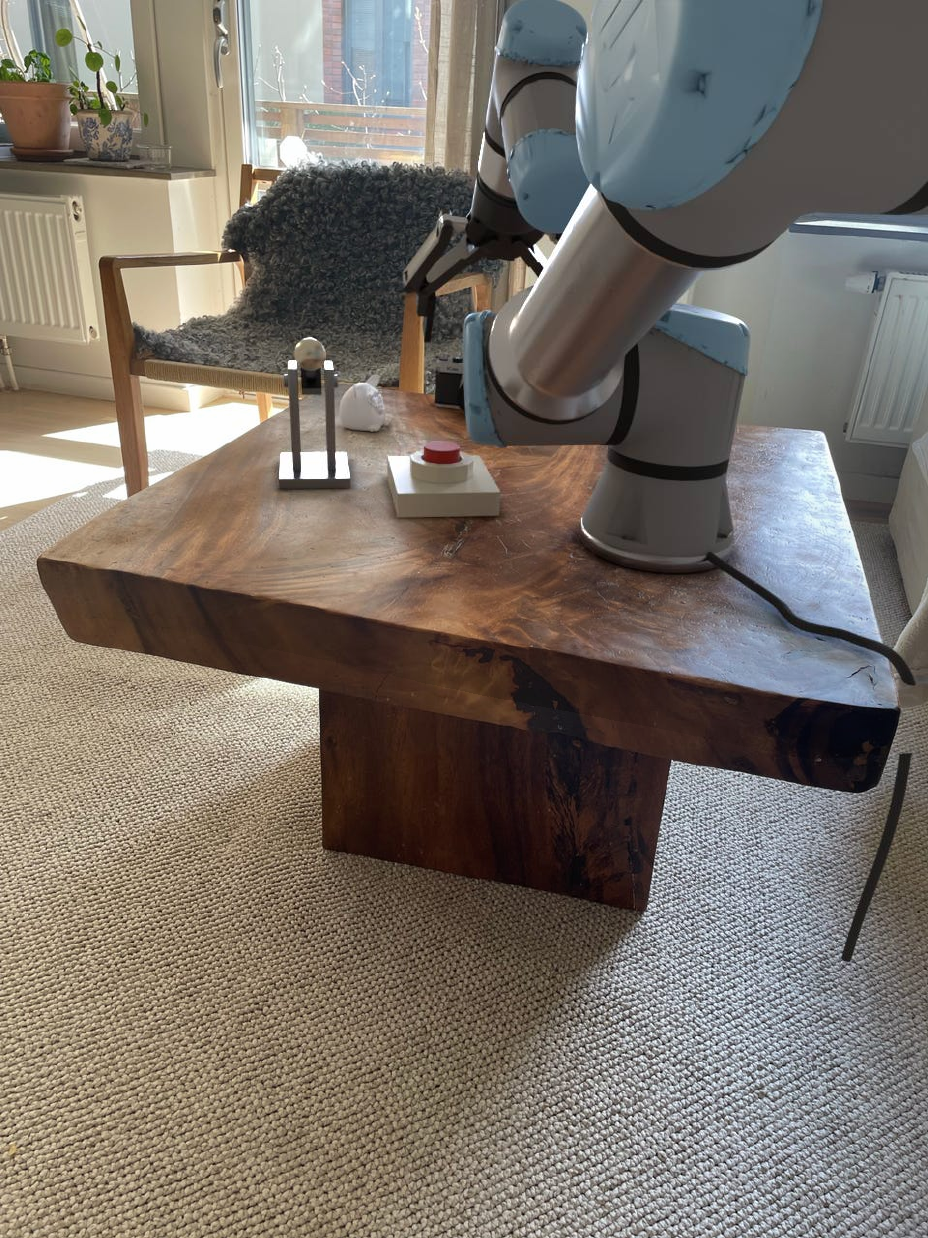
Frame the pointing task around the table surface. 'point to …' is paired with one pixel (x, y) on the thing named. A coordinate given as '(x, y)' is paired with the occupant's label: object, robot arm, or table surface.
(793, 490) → the table surface
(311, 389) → the lever
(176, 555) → the table surface
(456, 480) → the control block
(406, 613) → the table surface
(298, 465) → the grey metal frame
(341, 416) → the figurine
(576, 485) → the table surface
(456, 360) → the camera
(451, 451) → the stop button
